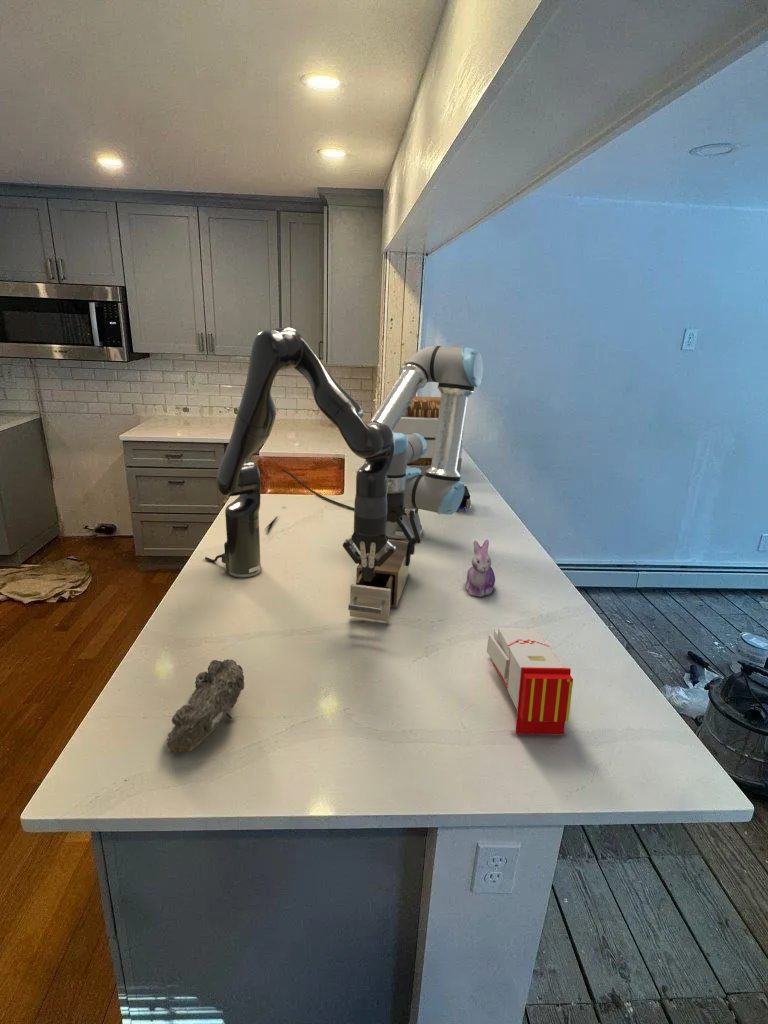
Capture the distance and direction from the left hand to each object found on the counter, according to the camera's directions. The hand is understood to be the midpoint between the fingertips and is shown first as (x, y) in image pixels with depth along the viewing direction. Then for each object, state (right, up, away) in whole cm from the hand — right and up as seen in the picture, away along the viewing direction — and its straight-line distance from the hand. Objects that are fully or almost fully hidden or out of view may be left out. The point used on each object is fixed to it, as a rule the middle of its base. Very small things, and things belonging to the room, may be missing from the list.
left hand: (368, 579), depth 135 cm
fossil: (-29, -23, -27) cm, 46 cm away
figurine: (+31, -6, +27) cm, 42 cm away
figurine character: (+35, +18, +94) cm, 102 cm away
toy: (+33, -21, -15) cm, 42 cm away
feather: (-36, +13, +72) cm, 81 cm away
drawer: (+1, -8, +14) cm, 16 cm away
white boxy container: (+21, +35, +140) cm, 146 cm away
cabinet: (+4, -5, +25) cm, 26 cm away
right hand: (+5, +2, +29) cm, 29 cm away
